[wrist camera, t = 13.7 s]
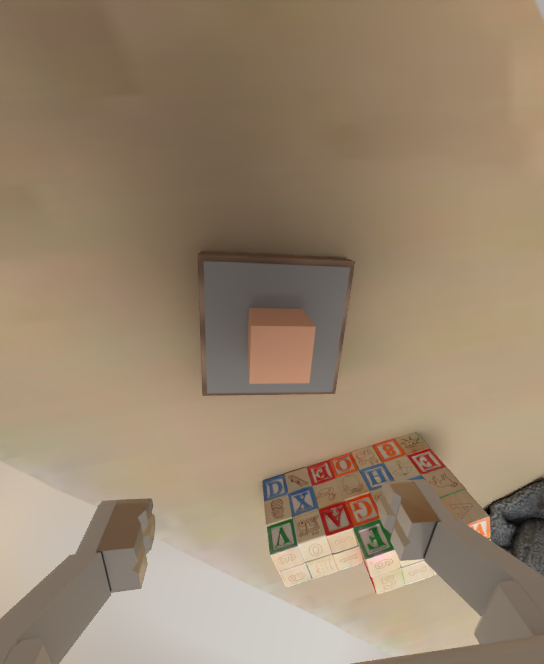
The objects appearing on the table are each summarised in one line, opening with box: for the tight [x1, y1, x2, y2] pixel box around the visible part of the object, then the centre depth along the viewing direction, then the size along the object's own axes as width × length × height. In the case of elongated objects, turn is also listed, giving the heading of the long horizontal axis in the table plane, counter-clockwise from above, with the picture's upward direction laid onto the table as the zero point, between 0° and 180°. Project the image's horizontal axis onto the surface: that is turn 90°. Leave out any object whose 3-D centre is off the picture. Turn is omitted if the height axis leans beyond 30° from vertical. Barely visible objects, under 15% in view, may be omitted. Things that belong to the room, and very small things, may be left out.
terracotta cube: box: [247, 308, 316, 384], centre depth 25 cm, size 5×5×5 cm
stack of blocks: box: [263, 432, 491, 595], centre depth 34 cm, size 21×6×12 cm, turn 106°
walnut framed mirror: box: [198, 252, 355, 396], centre depth 29 cm, size 14×14×3 cm
